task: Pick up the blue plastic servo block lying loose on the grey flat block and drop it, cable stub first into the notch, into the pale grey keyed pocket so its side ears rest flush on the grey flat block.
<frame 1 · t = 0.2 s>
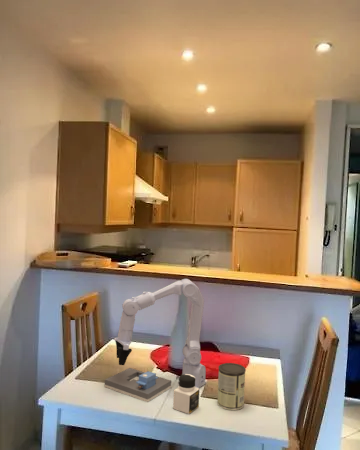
hand: (120, 361, 169), 10 cm above the table, tool pointing down, fingers open, 7 cm apart
coffee can: (230, 404, 157), on the table
grey flat block: (137, 387, 169), on the table
servo: (146, 385, 164), point 3 cm above the table, touching grey flat block
medicine bottle: (185, 408, 153), on the table
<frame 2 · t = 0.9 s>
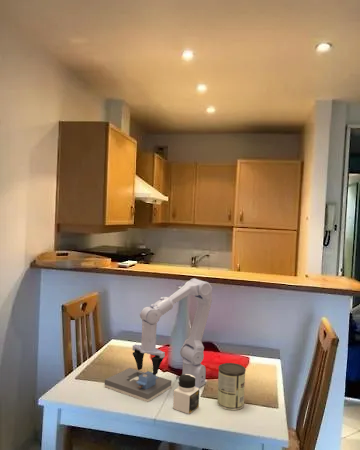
hand: (147, 371, 164), 9 cm above the table, tool pointing down, fingers open, 7 cm apart
nothing on the table moved.
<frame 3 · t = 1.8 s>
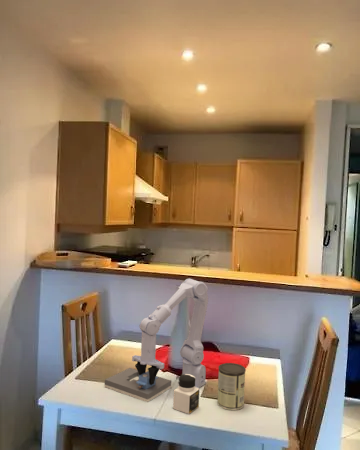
hand: (147, 382, 164), 4 cm above the table, tool pointing down, fingers closed on servo, 4 cm apart
servo: (146, 385, 164), point 3 cm above the table, touching grey flat block, gripper
everything else where it was.
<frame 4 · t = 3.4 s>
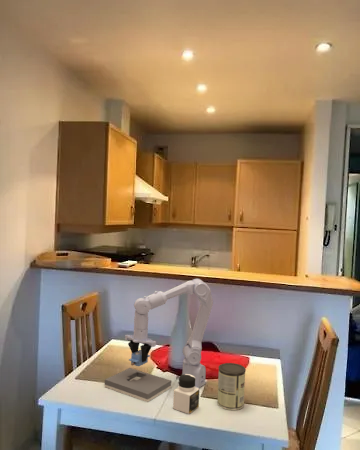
hand: (139, 360, 171), 10 cm above the table, tool pointing down, fingers closed on servo, 4 cm apart
servo: (139, 363, 171), point 9 cm above the table, touching gripper
everything else where it was.
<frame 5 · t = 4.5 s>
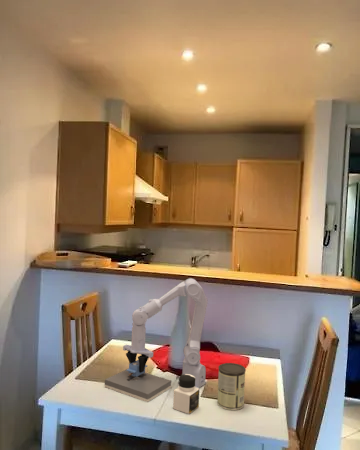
hand: (137, 370, 173), 5 cm above the table, tool pointing down, fingers closed on servo, 4 cm apart
servo: (136, 373, 173), point 4 cm above the table, touching gripper
everything else where it was.
when the fingers open (4 cm above the table, at t = 5.2 s): servo drops 2 cm, resting on grey flat block.
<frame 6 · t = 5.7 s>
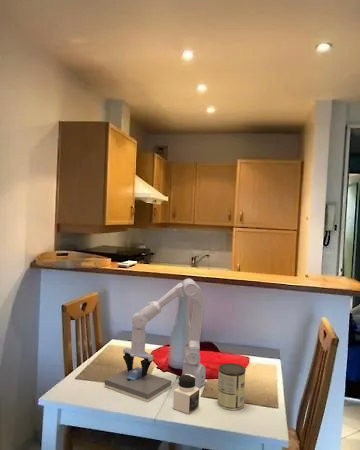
hand: (137, 373, 173), 4 cm above the table, tool pointing down, fingers open, 7 cm apart
servo: (136, 380, 173), point 1 cm above the table, touching grey flat block
everything else where it was.
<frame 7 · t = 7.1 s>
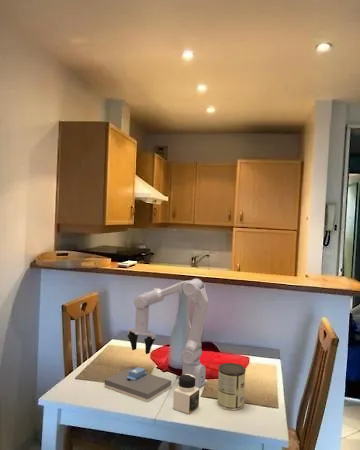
hand: (140, 351, 184), 9 cm above the table, tool pointing down, fingers open, 7 cm apart
nothing on the table moved.
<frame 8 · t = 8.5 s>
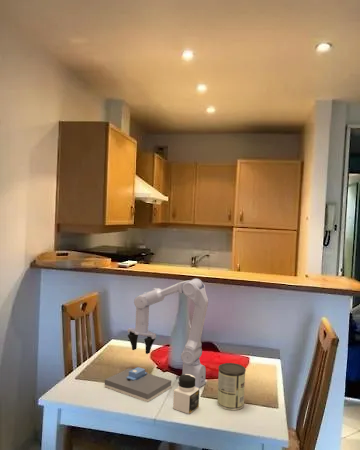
hand: (140, 351, 184), 9 cm above the table, tool pointing down, fingers open, 7 cm apart
nothing on the table moved.
at the end: servo 0.1 cm from the target spot on the grey flat block, point 1.0 cm above the grey flat block's base; servo tilted 0°; the gripper is holding nothing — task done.
